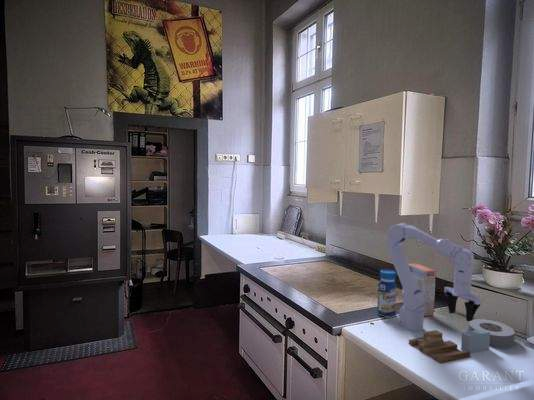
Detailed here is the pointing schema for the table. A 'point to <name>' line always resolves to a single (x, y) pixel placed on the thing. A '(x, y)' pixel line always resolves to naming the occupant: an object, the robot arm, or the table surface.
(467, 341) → the blue-grey rectangular block
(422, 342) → the block
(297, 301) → the table surface
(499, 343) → the tape roll
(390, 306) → the beverage bottle
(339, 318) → the table surface
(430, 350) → the rack
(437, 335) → the offcut short
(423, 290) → the cracker box
